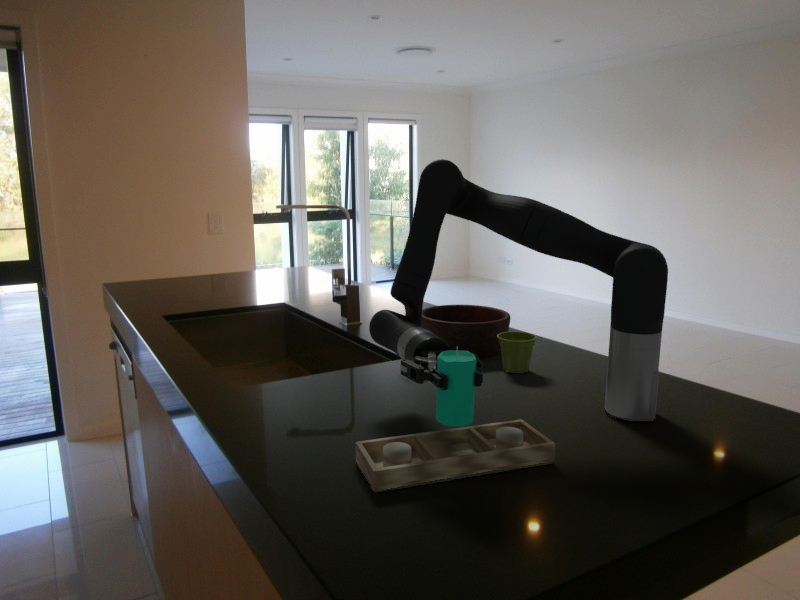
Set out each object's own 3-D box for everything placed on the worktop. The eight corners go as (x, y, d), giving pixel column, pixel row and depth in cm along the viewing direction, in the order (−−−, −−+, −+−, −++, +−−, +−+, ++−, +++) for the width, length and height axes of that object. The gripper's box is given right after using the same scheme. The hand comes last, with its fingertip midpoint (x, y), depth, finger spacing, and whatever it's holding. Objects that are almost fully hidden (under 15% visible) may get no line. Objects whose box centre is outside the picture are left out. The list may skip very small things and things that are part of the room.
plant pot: (506, 378, 138) (507, 342, 136) (489, 366, 147) (490, 332, 145) (542, 374, 140) (544, 339, 139) (523, 363, 149) (525, 330, 148)
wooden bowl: (408, 358, 153) (409, 320, 151) (427, 335, 177) (427, 302, 175) (506, 365, 148) (507, 325, 146) (511, 341, 171) (513, 306, 170)
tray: (520, 437, 105) (521, 416, 104) (554, 463, 95) (555, 440, 94) (355, 462, 95) (355, 438, 94) (373, 493, 85) (373, 468, 85)
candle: (449, 408, 98) (452, 339, 96) (480, 418, 94) (484, 345, 92) (428, 419, 93) (430, 346, 91) (459, 429, 90) (462, 354, 87)
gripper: (385, 334, 103) (419, 362, 87) (460, 328, 107) (506, 355, 91) (385, 375, 104) (418, 410, 88) (459, 368, 109) (503, 400, 93)
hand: (462, 382), depth 90 cm, fingers closed on candle, 5 cm apart
